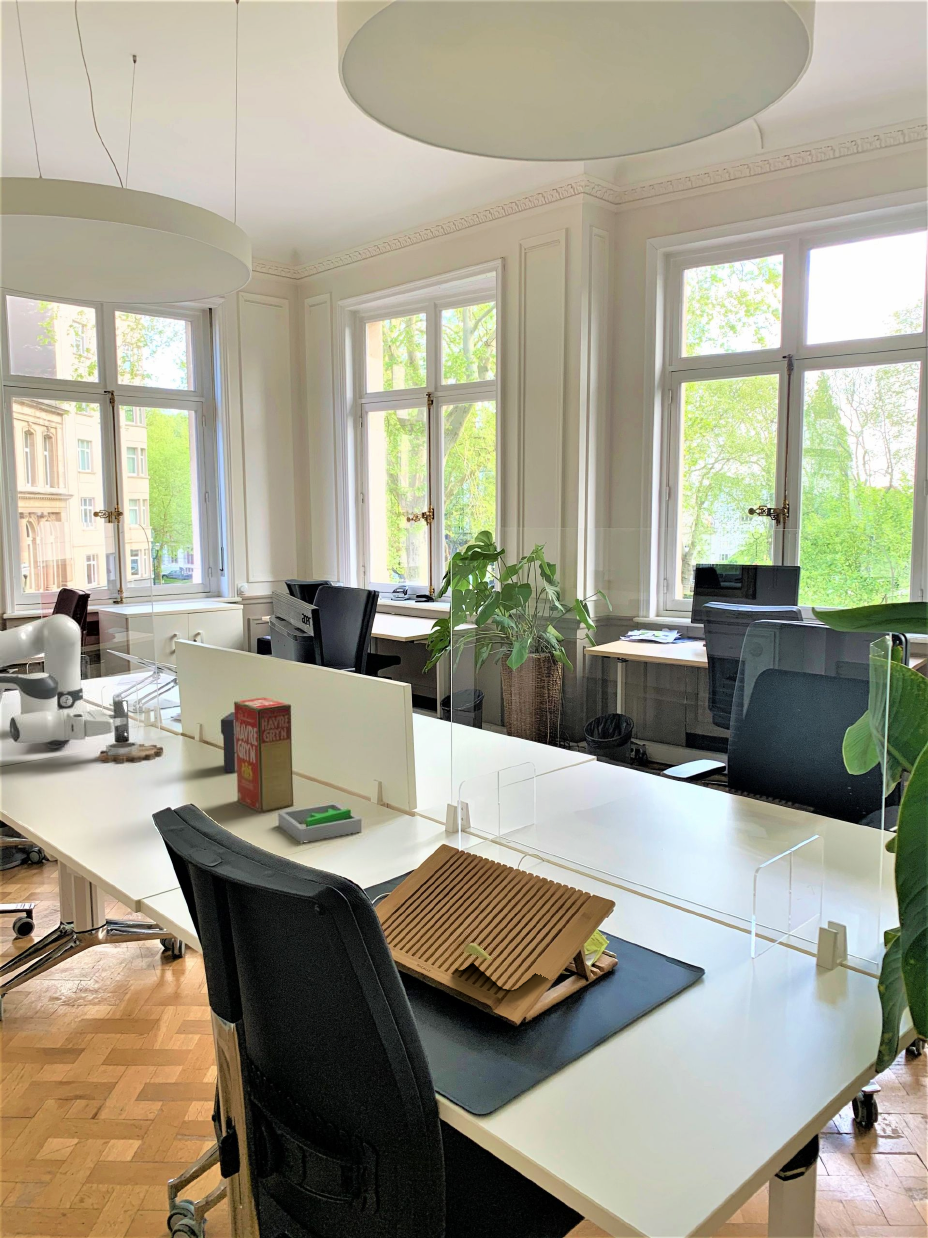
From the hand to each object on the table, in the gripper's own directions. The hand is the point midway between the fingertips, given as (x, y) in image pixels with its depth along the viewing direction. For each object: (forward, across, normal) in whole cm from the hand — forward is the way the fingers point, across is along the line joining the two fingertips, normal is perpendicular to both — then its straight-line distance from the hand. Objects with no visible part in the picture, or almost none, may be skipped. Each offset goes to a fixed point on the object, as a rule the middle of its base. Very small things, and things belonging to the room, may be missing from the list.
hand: (124, 718), depth 264 cm
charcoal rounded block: (+24, +30, -12) cm, 40 cm away
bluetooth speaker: (-14, -29, -12) cm, 34 cm away
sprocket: (+2, 0, -11) cm, 12 cm away
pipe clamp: (+24, +95, -12) cm, 98 cm away
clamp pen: (+24, +92, -12) cm, 95 cm away
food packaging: (+20, +67, -12) cm, 71 cm away
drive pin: (-1, 0, -7) cm, 7 cm away
